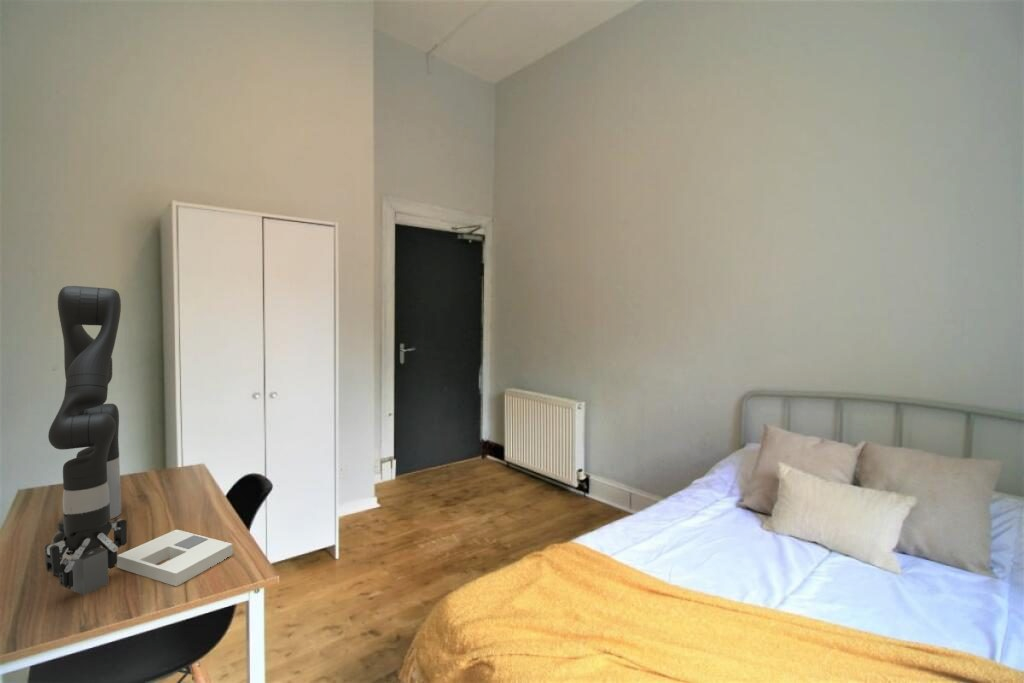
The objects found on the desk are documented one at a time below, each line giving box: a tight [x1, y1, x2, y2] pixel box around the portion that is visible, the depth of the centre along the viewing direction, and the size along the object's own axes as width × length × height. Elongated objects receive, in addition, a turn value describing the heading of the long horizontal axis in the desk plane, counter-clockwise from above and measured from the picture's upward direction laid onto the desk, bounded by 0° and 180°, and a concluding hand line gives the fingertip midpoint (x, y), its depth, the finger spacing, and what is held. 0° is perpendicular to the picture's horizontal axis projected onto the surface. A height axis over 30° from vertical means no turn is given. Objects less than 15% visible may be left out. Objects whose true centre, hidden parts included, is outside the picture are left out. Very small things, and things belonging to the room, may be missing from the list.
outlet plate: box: [116, 529, 234, 587], centre depth 113 cm, size 20×14×3 cm
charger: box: [70, 546, 109, 596], centre depth 102 cm, size 4×4×8 cm
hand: (89, 576), depth 102 cm, fingers open, 7 cm apart
